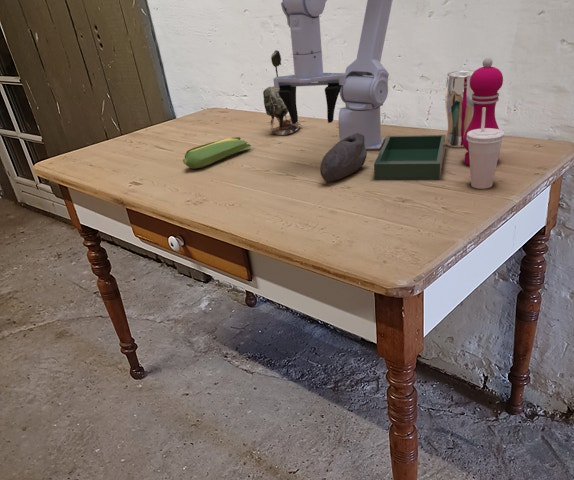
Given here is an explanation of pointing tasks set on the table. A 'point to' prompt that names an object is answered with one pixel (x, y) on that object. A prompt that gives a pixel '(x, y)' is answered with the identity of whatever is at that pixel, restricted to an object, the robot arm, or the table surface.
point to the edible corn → (213, 152)
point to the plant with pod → (277, 104)
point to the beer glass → (458, 106)
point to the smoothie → (484, 154)
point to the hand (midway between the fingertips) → (312, 122)
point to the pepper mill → (483, 98)
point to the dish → (410, 157)
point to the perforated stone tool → (344, 158)
